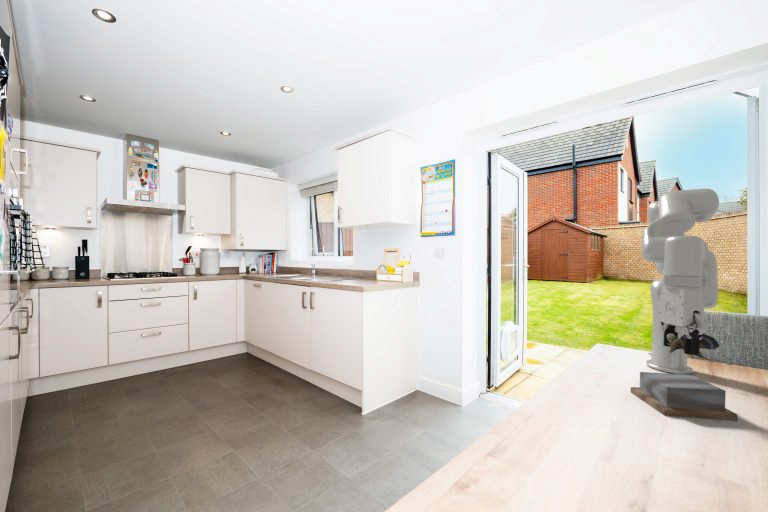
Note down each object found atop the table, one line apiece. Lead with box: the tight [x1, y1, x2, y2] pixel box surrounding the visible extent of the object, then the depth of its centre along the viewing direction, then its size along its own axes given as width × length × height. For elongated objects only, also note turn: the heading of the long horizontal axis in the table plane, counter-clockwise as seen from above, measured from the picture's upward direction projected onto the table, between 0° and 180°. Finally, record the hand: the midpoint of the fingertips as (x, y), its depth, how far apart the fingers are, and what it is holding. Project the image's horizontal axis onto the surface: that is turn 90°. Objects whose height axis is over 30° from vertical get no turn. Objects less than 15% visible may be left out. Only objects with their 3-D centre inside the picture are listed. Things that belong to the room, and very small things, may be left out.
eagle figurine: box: [667, 333, 721, 362], centre depth 88 cm, size 8×7×9 cm
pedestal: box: [630, 371, 739, 421], centre depth 89 cm, size 14×16×6 cm
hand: (680, 349), depth 89 cm, fingers closed on eagle figurine, 6 cm apart
